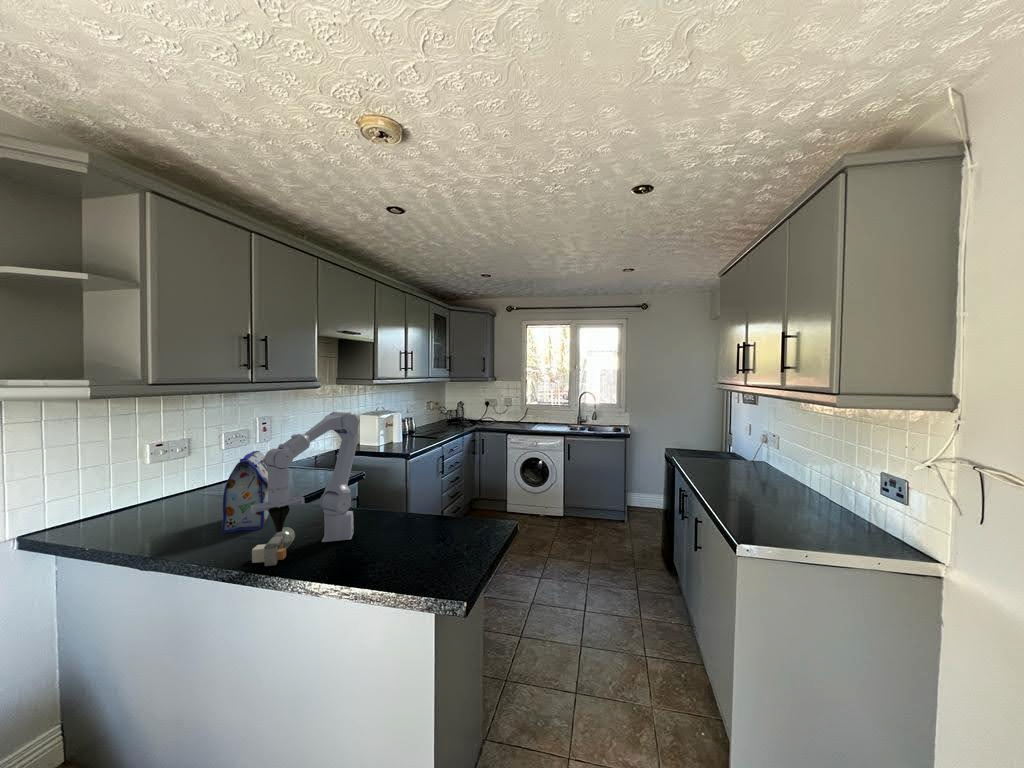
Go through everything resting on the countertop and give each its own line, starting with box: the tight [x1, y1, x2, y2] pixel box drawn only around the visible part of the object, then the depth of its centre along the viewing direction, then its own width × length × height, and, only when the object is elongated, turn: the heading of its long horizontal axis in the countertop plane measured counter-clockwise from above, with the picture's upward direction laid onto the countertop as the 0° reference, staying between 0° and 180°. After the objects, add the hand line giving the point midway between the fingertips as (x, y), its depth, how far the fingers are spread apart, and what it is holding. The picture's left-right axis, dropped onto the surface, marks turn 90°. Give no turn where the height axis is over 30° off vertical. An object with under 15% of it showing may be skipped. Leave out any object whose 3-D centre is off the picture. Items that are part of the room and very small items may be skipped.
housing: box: [264, 526, 296, 567], centre depth 134 cm, size 6×17×6 cm, turn 14°
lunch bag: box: [220, 450, 270, 534], centre depth 166 cm, size 23×17×27 cm
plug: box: [251, 543, 287, 564], centre depth 131 cm, size 8×4×4 cm, turn 100°
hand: (278, 531), depth 131 cm, fingers closed
